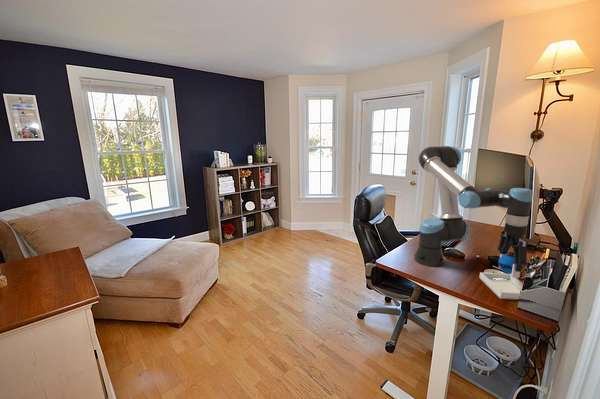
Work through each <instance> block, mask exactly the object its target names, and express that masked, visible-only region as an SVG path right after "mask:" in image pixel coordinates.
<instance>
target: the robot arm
mask: <svg viewBox="0 0 600 399" xmlns="http://www.w3.org/2000/svg"><path fill="white" fill-rule="evenodd" d="M461 160H462V154H461V152H460V150H459V149H458V148H457V147H455V146H449V145H444V146H427V147H426V148H424V149H423V150H422V151H421V152H420V153H419V156H418V163H419V166H420V167H421V168H422V169H423V170H424V171H425V172H427V173H431V174H432V176H434V178H436V179H437V183H438V191H439V202H440V210H441V215H440V216H439V218H427V219H426V218H425V219H423V220H422V221H421V222H420V224H419V234H418V235H419V237H418V245H417V248H416V249H415V252H414V256H413V259H414V261H415V262H417V263H419V264H421V265H425V266H428V267H440V266H443V265H444V262H445V258H444V254H443V251H442V249H443V248H442V246H443V243H448V242H449V243H450V242H458V241H462V240H465V239H466V238H467V237H468V236H469V232H470V226H469V224H468V223H467V221H466V220H465V219H464V216H463V215H461V214H460V210H459V205H460V206H461V207H462V208H465V209H478V208H486V207H488V208H490V207H498V208H499V207H500V208H504V209H506V214H505V215H506V216H505V219H504V220H505V221H504V222H505V223H504V229H503V230H504V231H501V235H500V236H501V237H500V238H499V243H498V246H497V251H499V254H500V255H499V258H500V257H502V256H504V255H509V251H510V248H512V249H513V250H512V252H513V253H514V255H513V256H514V259H515V263H513V268H512V274H511V277H512V278H516V279H520V274H521V271H522V269H521V266H522V265H523V266H527V252H528V250H527V249H528V245H529V243H528V241H524V238H523V237H524V236H525V235H527V231H528V224H529V219H530V211H531V207H532V202H533V194H534V193H533V190H532V189H530V188H525V187H524V188H522V187H513V188H510V190H503V189H497V188H495V187H494V188H491V187H490V188H489V187H488V188H485V189H484V190H478V189H477V188H475V187H474V186H473V185H472V184H470V183H469V182H468V181H467V180H466V179H464V178H463V177H461V176H460V175H459V174H458V173H456V171H457V169H458V165H459V164H460V163H461ZM523 266H522V267H523Z"/></svg>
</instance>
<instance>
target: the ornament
mask: <svg viewBox="0 0 600 399" xmlns="http://www.w3.org/2000/svg"><path fill="white" fill-rule="evenodd" d="M508 253H509V254H507V255H504V256H502V257H500V256H499V258H498V259H497V265H498V268H499V269H500V270H501V271H502V272H504V274H512V268H513V263H515V259H514V251H508ZM523 266H524V265H522V266H521V270H522V269H523Z"/></svg>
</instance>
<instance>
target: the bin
mask: <svg viewBox="0 0 600 399" xmlns="http://www.w3.org/2000/svg"><path fill="white" fill-rule="evenodd" d="M478 278H479V280H480V281H482V283H484V285H486V286H487V287H488V288H489V289H490V290H491V291H492V292H493V293H494V294H495V295H496V296H497V297H498V298H499V299H500V300H513V301H514V300H515V301H516V300H517V301H519V300H518V299H519V296H520V291H521V288H522V285H523V284H524V283H523V282H521V280H519V278H512V277H511V274H508V273H502V272H501V273H496V272H479V277H478ZM493 278H503V279H507V280H496V279H493Z"/></svg>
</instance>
